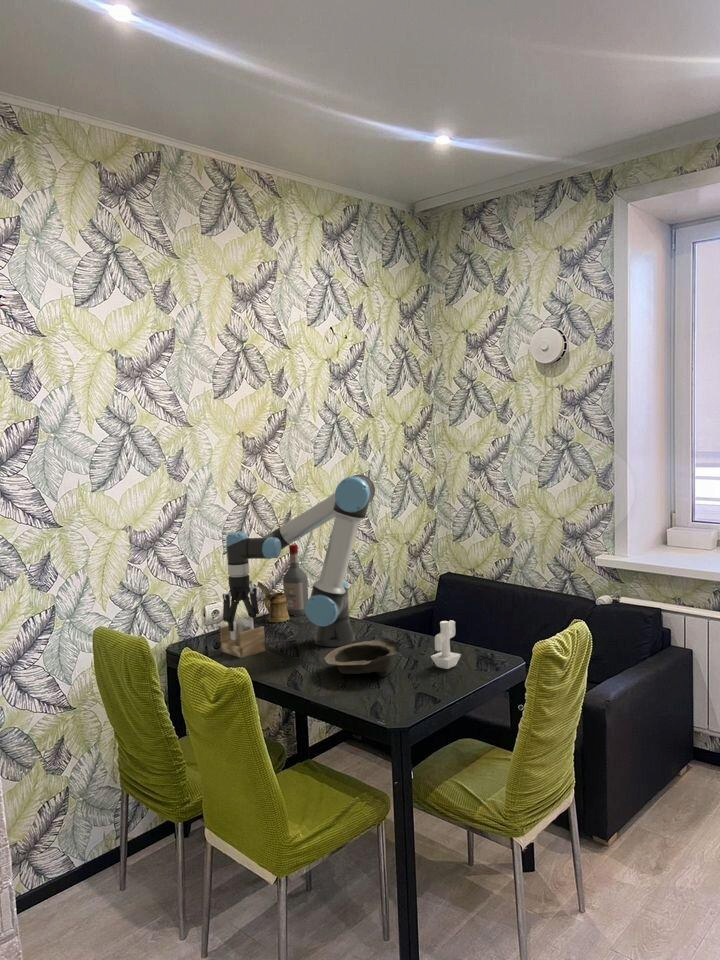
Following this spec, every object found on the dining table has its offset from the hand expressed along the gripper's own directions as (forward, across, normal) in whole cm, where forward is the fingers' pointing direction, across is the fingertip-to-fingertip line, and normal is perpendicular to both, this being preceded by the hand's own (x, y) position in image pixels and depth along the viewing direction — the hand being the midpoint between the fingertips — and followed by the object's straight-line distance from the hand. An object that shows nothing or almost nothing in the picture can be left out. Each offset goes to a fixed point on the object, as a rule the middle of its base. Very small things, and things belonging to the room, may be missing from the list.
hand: (242, 636), depth 269 cm
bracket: (+5, 0, 0) cm, 5 cm away
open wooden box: (+5, 0, 0) cm, 5 cm away
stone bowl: (+6, -11, +51) cm, 52 cm away
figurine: (+6, -32, +69) cm, 76 cm away
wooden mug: (+6, -33, -24) cm, 41 cm away
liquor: (+6, -47, -26) cm, 54 cm away
